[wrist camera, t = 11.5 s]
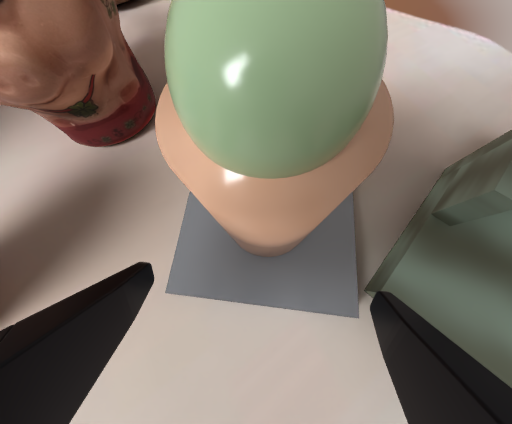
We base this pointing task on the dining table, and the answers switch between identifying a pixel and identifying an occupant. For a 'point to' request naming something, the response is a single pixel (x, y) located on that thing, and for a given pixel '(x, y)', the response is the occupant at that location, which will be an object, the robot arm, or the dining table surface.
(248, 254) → the slate pad
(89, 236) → the dining table surface
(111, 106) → the decorative planter
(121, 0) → the ceramic jug
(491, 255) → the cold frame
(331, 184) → the green ice cream cone
